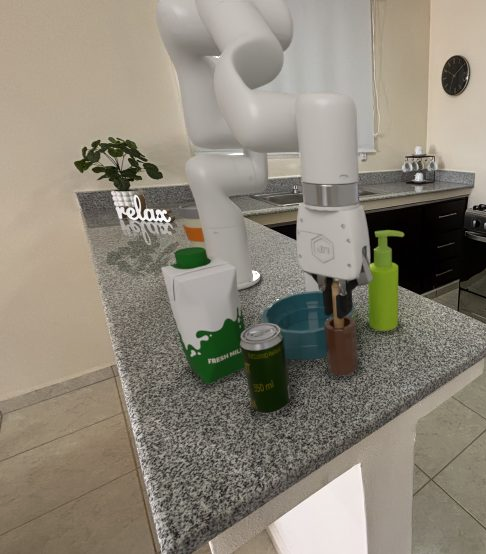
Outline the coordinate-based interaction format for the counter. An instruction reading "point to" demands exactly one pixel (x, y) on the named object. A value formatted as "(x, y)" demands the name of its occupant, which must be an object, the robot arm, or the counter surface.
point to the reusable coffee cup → (192, 224)
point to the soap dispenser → (383, 285)
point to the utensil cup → (341, 346)
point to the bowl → (301, 324)
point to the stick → (335, 291)
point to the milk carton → (206, 312)
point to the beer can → (265, 367)
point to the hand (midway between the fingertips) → (338, 312)
